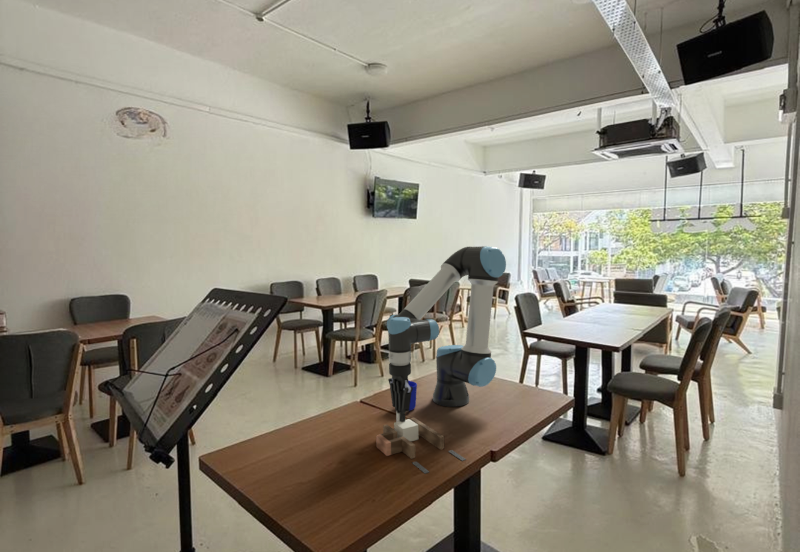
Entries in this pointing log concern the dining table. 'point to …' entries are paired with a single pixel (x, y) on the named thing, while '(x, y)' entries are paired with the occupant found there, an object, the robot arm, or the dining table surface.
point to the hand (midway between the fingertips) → (400, 429)
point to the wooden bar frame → (406, 440)
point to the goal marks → (428, 471)
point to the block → (407, 429)
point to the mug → (413, 395)
